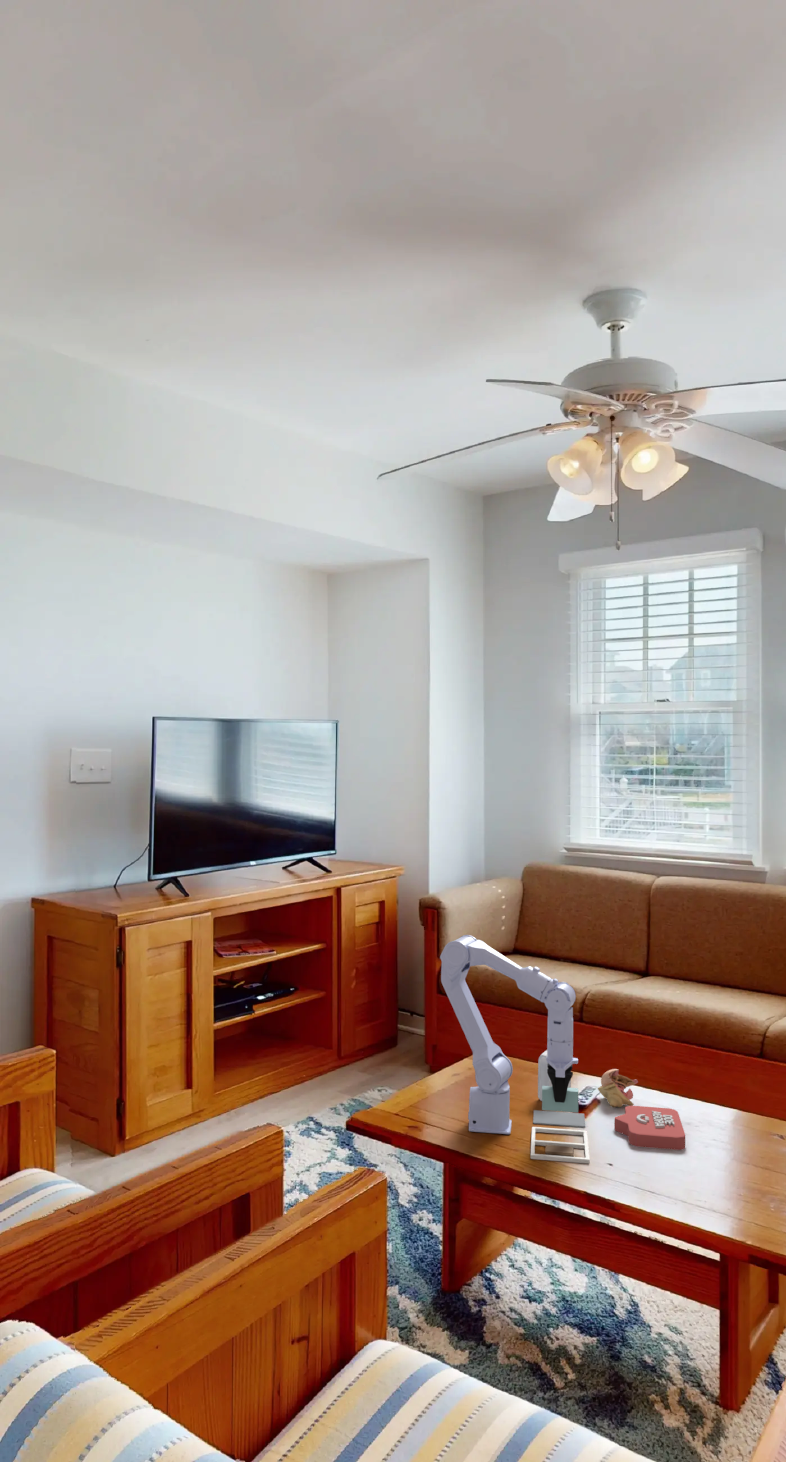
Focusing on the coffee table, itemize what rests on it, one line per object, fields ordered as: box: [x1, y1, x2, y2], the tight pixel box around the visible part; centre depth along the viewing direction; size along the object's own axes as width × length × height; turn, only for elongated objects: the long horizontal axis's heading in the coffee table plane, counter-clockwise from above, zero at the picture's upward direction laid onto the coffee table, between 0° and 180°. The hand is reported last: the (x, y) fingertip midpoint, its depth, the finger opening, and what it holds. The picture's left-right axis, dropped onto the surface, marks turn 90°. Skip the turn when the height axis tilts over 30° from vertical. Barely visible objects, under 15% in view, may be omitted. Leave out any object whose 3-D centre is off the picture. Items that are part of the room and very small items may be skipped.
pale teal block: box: [541, 1086, 579, 1113], centre depth 216 cm, size 8×2×5 cm, turn 81°
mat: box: [532, 1109, 586, 1129], centre depth 227 cm, size 12×8×1 cm, turn 81°
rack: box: [530, 1126, 591, 1164], centre depth 212 cm, size 12×16×1 cm
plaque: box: [613, 1105, 686, 1151], centre depth 220 cm, size 18×4×15 cm
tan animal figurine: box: [597, 1068, 639, 1108], centre depth 239 cm, size 9×10×10 cm
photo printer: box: [537, 1049, 572, 1102], centre depth 243 cm, size 10×4×12 cm, turn 134°
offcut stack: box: [544, 1145, 575, 1157], centre depth 208 cm, size 6×4×2 cm, turn 79°
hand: (559, 1099), depth 216 cm, fingers closed on pale teal block, 2 cm apart
